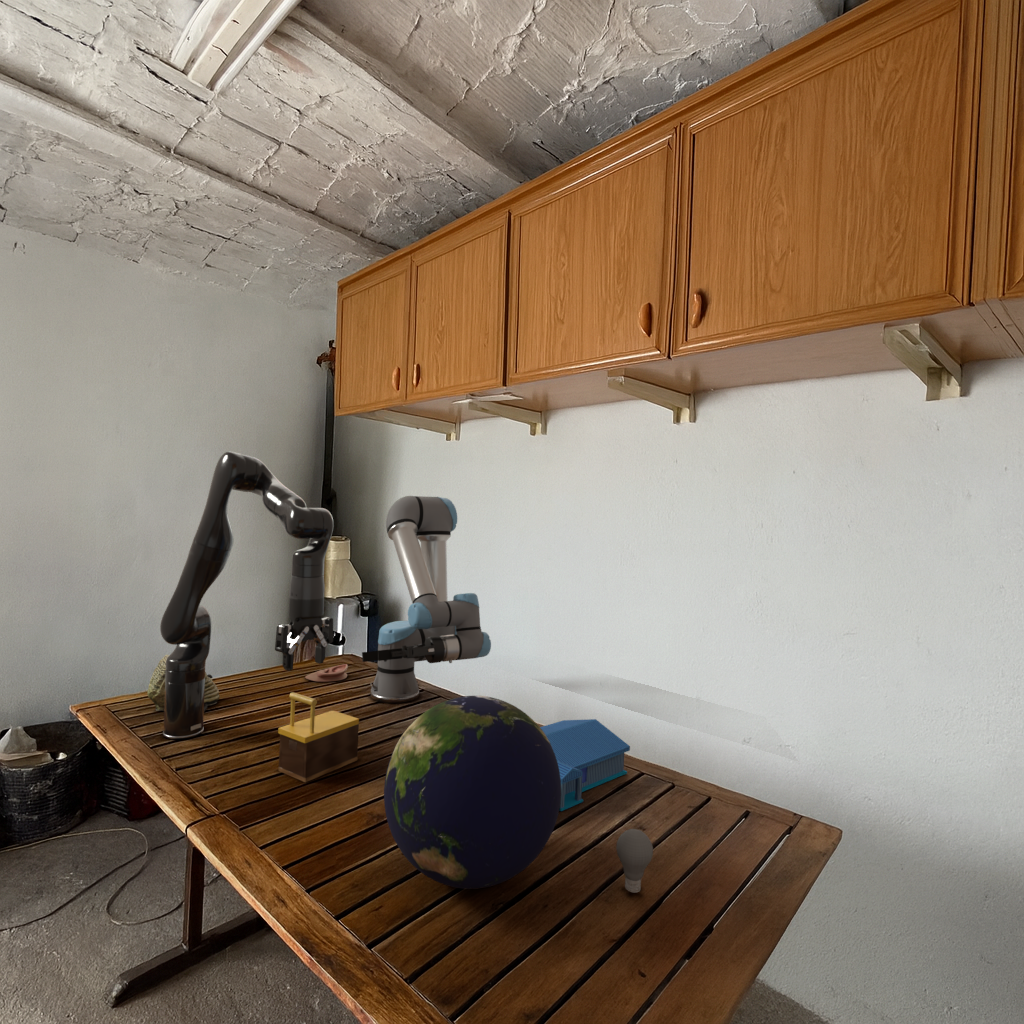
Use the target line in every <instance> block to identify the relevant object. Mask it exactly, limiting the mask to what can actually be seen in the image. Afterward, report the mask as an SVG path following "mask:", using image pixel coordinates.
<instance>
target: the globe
mask: <svg viewBox="0 0 1024 1024" xmlns="http://www.w3.org/2000/svg"><path fill="white" fill-rule="evenodd" d="M540 727H541V726H540V725H538V723H537V722H536V721H535V720H534V719H533V718H532V717H531V716H529V715H528V714H527V713H526V712H524V711H523V710H521V709H520V708H519V707H517V706H516V705H513V704H512V703H510V702H508V701H505V700H503V699H499V698H496V697H491V696H488V695H479V694H478V695H464V696H459V697H454V698H451V699H447V700H444V701H442V702H440V703H438V704H436V705H434V706H431V708H429V709H427V710H426V711H424V712H423V713H422V714H420V715H419V716H418V717H417V718H416V719H415V720H413V722H411V724H410V725H409V726H408V727H407V729H405V731H404V732H403V734H401V736H400V738H399V740H398V741H397V743H396V744H395V747H394V749H393V751H392V754H391V755H390V758H389V762H388V766H387V769H386V773H385V777H384V778H385V779H384V787H383V804H384V811H385V817H386V821H387V825H388V828H389V830H390V833H391V836H392V838H393V840H394V842H395V844H396V845H397V847H398V849H399V850H400V852H401V854H402V855H403V856H404V857H405V858H406V860H407V861H408V863H410V864H411V865H412V866H413V867H414V868H415V869H416V870H418V872H420V873H422V874H423V875H424V876H426V877H427V878H429V879H431V880H433V881H434V882H437V883H439V884H442V885H444V886H447V887H450V888H451V887H452V888H456V889H462V890H463V889H464V890H476V889H485V888H489V887H494V886H497V885H500V884H503V883H504V882H506V881H508V880H511V879H512V878H514V877H515V876H517V875H518V874H520V873H522V872H523V871H524V870H526V868H528V867H529V866H530V865H531V864H532V863H533V862H534V861H535V860H536V859H537V858H538V856H539V855H540V854H541V852H542V851H543V850H544V849H545V847H546V845H547V843H548V841H549V840H550V839H551V836H552V835H553V834H552V833H553V832H554V829H555V826H556V825H557V821H558V816H559V812H560V811H559V808H560V801H561V779H560V771H559V767H558V763H557V760H556V756H555V753H554V751H553V749H552V746H551V744H550V742H549V740H548V738H547V737H546V735H545V733H544V732H543V730H542V729H541V728H540Z"/></svg>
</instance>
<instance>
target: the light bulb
mask: <svg viewBox="0 0 1024 1024" xmlns="http://www.w3.org/2000/svg"><path fill="white" fill-rule="evenodd" d="M615 849H616V854H617V857H618V859H619V861H620V863H621V865H622V867H623V873H624V874H623V875H624V876H625V878H624V888H625V890H627V891H628V892H630V893H634V894H635V893H639V892H640V891H641V889H642V887H641V886H642V879H643V877H644V875H645V871H646V868H647V867H648V866H649V864H650V863H651V861H652V859H653V855H654V847H653V843H652V841H651V838H649V836H648V835H647V834H646V833H645V832H643V831H642V830H641V829H636V828H629V829H627V830H625V831H623V832H622V833H621V834H620V835H619V837H618V839H617V841H616V847H615Z"/></svg>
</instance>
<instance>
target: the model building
mask: <svg viewBox="0 0 1024 1024" xmlns="http://www.w3.org/2000/svg"><path fill="white" fill-rule="evenodd" d="M539 727H540V728H541V729H542V730H543V732H544V733H545V735H546V737H547V738H548V740H549V742H550V744H551V746H552V749H553V751H554V753H555V756H556V760H557V763H558V767H559V771H560V779H561V801H560V808H559V812H563V811H565V810H568V809H570V808H572V807H575V806H577V805H579V804H582V803H584V799H583V798H582V795H583V792H586V791H589V790H591V789H593V788H596V787H598V786H600V785H603V784H605V783H607V782H608V783H609V782H610V781H612V780H615V779H617V778H619V777H621V776H625V775H627V774H628V771H627V770H625V769H624V766H625V753H628V752H629V751H631V746H630V745H629V744H628V743H627V742H625V741H624V740H623V739H621V737H619V736H617V734H615V733H614V732H613V731H611V730H610V729H609V728H608V727H606V726H605V725H604V724H602V723H601V722H600V721H599V720H597V719H596V718H594V719H593V718H592V719H591V718H590V719H564V720H560V721H557V722H552V723H550V724H546V725H542V726H539Z"/></svg>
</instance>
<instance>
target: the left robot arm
mask: <svg viewBox="0 0 1024 1024" xmlns="http://www.w3.org/2000/svg"><path fill="white" fill-rule="evenodd" d="M232 490H233V491H239V492H243V493H244V492H245V493H252V494H255V495H257V496H260V497H261V501H262V504H263V506H264V508H265V509H266V511H268V512H269V513H270V514H271V515H272V516H274V517H275V518H276V519H278V520H279V522H280V524H281V526H282V527H283V529H284V531H285V533H286V534H287V535H288V536H289V537H290V538H293V539H297V540H308V542H307V545H305V547H303V548H300V549H296V550H295V551H293V553H292V556H291V575H290V582H289V597H288V599H289V600H288V602H289V603H288V616H289V623H288V624H282V623H278V624H277V625H276V631H275V643H274V651H276V652H279V653H282V668H283V669H284V670H285V671H287V672H290V671H293V670H294V652H295V650H296V648H297V647H298V646H299V645H300V644H301V643H302V642H306V641H308V640H309V641H312V640H313V642H314V644H315V645H316V646H315V648H314V649H315V650H314V662H315V663H316V664H320V665H321V664H324V662H325V659H326V647H327V646H328V645H329V644H332V643H333V642H334V619H333V618H332V617H328V616H324V613H325V612H324V609H325V608H324V607H325V576H324V575H325V558H326V554H327V551H328V548H329V545H330V541H331V538H332V535H333V531H334V527H335V525H334V519H333V515H332V514H331V512H330V511H329V510H328V509H326V508H323V507H307V504H306V502H305V501H304V499H303V498H302V497H300V496H299V495H297V493H295V492H294V491H292V490H291V489H289V488H288V487H286V486H285V485H284V484H283V483H282V482H281V481H280V480H279V479H278V478H277V477H276V476H275V475H274V474H273V473H272V471H271V470H270V469H269V467H268V466H267V465H266V464H265V463H264V462H263V461H262V460H260V459H258V458H257V457H254V456H250V455H246V454H243V453H239V452H235V451H226V452H224V453H222V455H220V456H219V459H218V460H217V462H216V465H215V467H214V471H213V474H212V479H211V483H210V487H209V490H208V494H207V499H206V503H205V505H204V508H203V512H202V515H201V517H200V521H199V524H198V526H197V529H196V532H195V534H194V537H193V539H192V542H191V546H190V547H189V551H188V553H187V557H186V561H185V563H184V566H183V569H182V570H181V574H180V576H179V579H178V582H177V584H176V587H175V590H174V592H173V594H172V595H171V598H170V600H169V602H168V604H167V606H166V607H165V610H164V612H163V615H162V617H161V620H160V626H159V631H160V635H161V637H162V639H163V641H165V643H167V644H169V645H173V646H175V648H174V649H173V651H172V652H171V653H170V654H168V655H169V656H168V658H167V659H166V674H165V705H164V710H163V731H162V737H164V738H166V739H169V740H185V739H190V738H191V739H192V738H194V737H197V736H199V735H202V734H203V732H204V730H205V729H204V722H205V721H204V718H205V712H206V711H207V709H208V707H209V705H207V703H206V704H204V693H205V672H206V664H207V663H206V662H207V658H208V656H209V653H210V649H211V648H210V647H211V639H212V637H211V636H212V617H211V614H210V613H209V610H208V609H207V608H206V607H205V606H203V605H201V602H202V599H204V596H205V594H206V593H207V591H208V590H209V588H211V586H212V585H213V583H215V581H216V579H218V577H219V576H220V575H221V573H222V571H223V570H224V569H225V567H226V565H227V562H228V561H229V557H230V555H231V552H232V549H233V546H234V539H235V538H234V532H233V528H232V525H231V521H230V517H229V513H228V504H229V500H230V496H231V493H232ZM207 676H208V677H209V678H211V679H213V678H214V677H213V675H212V674H207Z"/></svg>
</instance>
